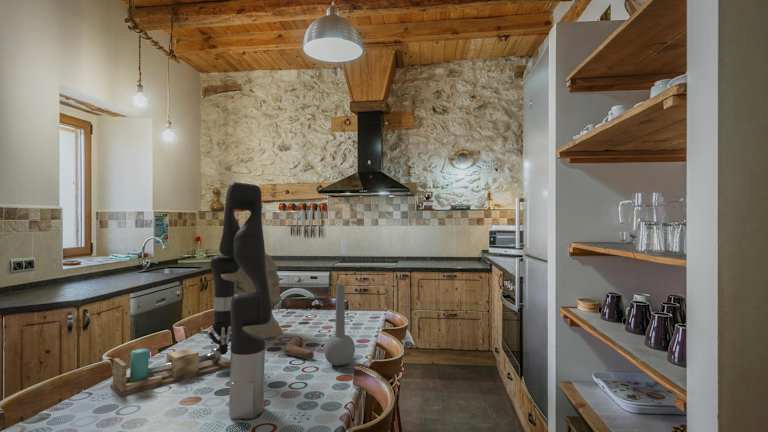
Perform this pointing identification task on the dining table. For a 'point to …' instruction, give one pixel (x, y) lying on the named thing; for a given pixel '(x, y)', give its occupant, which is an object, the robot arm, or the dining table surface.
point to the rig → (182, 369)
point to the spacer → (139, 365)
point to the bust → (247, 286)
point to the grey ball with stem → (339, 335)
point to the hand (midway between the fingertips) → (223, 354)
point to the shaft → (213, 356)
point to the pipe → (298, 349)
